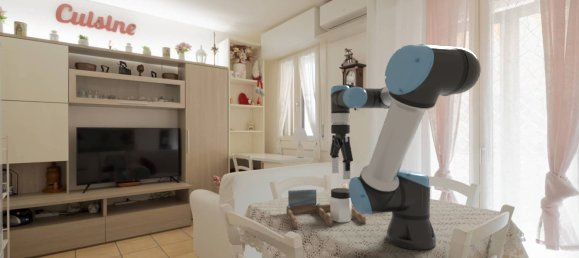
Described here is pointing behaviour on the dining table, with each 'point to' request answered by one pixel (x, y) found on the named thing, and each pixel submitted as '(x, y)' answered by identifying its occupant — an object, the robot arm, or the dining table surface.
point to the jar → (340, 205)
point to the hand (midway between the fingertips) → (340, 176)
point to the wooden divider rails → (312, 207)
